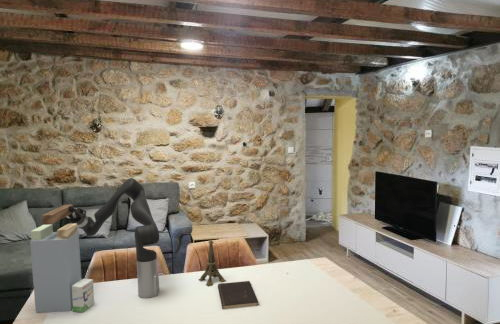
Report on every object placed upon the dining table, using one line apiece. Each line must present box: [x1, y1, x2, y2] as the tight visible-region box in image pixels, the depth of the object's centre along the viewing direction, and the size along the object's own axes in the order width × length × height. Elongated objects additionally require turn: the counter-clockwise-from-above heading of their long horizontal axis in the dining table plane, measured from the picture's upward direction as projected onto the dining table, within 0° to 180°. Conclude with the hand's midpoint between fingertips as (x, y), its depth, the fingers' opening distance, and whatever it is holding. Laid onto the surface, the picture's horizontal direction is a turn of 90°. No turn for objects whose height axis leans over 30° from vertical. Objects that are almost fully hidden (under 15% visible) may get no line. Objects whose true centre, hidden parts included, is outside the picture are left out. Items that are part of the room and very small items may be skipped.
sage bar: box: [30, 224, 54, 241], centre depth 163 cm, size 4×11×4 cm, turn 4°
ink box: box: [72, 278, 95, 313], centre depth 163 cm, size 9×5×12 cm, turn 168°
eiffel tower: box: [198, 240, 227, 287], centre depth 189 cm, size 11×11×25 cm
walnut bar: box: [41, 204, 74, 225], centre depth 168 cm, size 4×22×4 cm, turn 4°
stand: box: [29, 230, 83, 314], centre depth 165 cm, size 15×13×32 cm
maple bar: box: [56, 223, 78, 239], centre depth 164 cm, size 4×11×4 cm, turn 4°
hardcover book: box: [217, 280, 259, 310], centre depth 172 cm, size 16×23×2 cm
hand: (64, 208), depth 174 cm, fingers closed on walnut bar, 4 cm apart
